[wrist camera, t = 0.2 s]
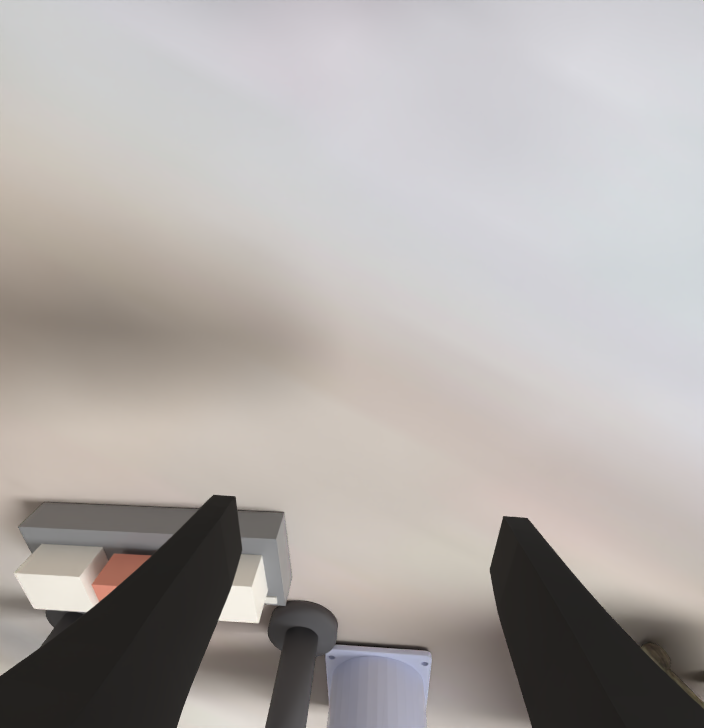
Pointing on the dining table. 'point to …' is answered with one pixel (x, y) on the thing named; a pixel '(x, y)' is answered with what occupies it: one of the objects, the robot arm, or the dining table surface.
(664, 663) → the tabletop clock
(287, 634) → the cord post right
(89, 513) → the breaker panel
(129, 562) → the block
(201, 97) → the dining table surface
